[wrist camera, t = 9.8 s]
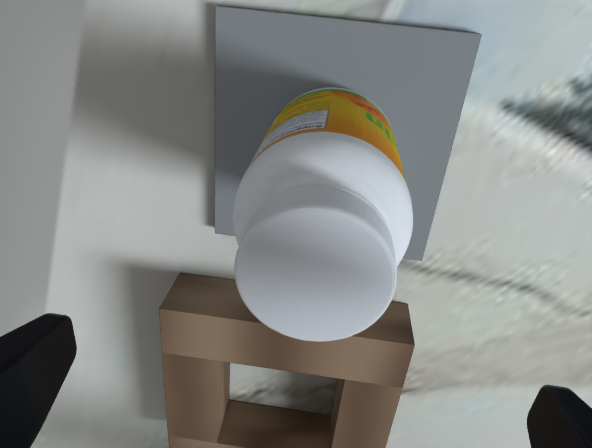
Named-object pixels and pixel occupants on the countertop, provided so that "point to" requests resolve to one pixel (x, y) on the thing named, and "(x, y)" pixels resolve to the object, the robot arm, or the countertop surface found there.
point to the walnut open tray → (276, 355)
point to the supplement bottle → (322, 218)
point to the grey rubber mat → (342, 74)
